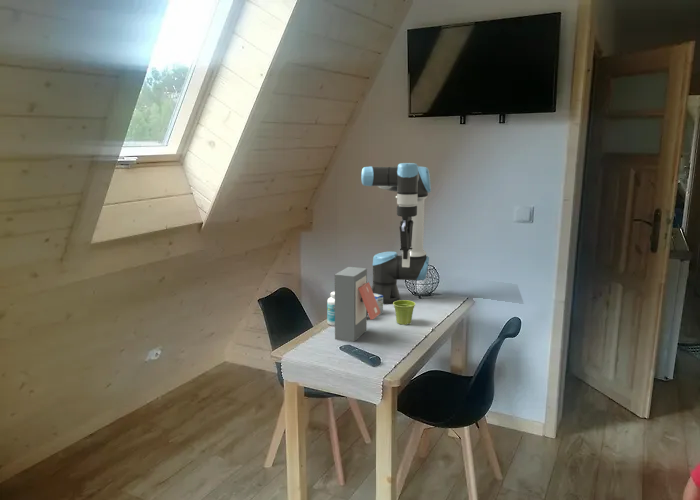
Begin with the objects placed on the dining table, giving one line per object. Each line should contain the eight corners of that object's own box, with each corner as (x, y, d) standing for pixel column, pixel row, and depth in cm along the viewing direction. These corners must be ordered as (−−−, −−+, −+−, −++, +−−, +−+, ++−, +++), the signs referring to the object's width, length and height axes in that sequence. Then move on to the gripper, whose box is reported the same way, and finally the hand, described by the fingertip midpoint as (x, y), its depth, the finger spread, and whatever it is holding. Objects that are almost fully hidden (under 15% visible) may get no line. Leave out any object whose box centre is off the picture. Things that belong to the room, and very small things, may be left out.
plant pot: (413, 327, 227) (414, 307, 225) (391, 325, 229) (391, 305, 227) (415, 320, 236) (416, 300, 234) (394, 318, 238) (394, 299, 236)
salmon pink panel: (377, 313, 216) (365, 283, 216) (381, 312, 216) (369, 282, 215) (370, 319, 209) (358, 288, 209) (374, 318, 208) (362, 287, 208)
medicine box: (363, 312, 247) (363, 293, 245) (369, 309, 250) (369, 291, 248) (377, 315, 242) (377, 296, 240) (383, 313, 245) (383, 294, 244)
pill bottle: (324, 325, 229) (324, 294, 227) (331, 319, 236) (331, 289, 233) (341, 327, 227) (341, 296, 224) (347, 321, 234) (347, 291, 231)
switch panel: (348, 327, 226) (348, 266, 221) (371, 331, 222) (372, 269, 217) (335, 339, 213) (334, 274, 208) (359, 342, 209) (359, 277, 204)
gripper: (401, 202, 210) (400, 262, 215) (392, 207, 198) (391, 270, 203) (420, 203, 208) (419, 263, 213) (413, 207, 195) (411, 271, 200)
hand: (405, 266), depth 208 cm, fingers closed
